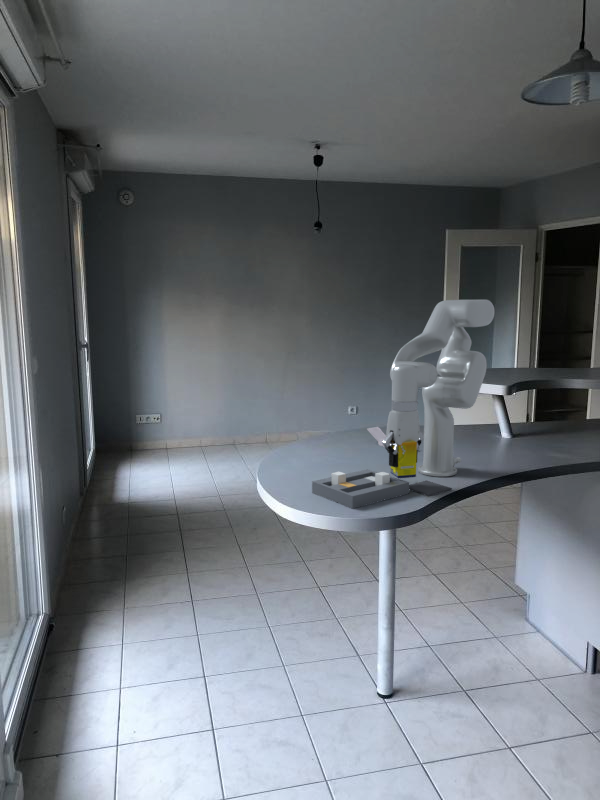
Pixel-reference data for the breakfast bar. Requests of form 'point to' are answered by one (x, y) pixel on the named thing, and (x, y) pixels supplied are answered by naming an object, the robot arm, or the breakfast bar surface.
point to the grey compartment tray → (359, 489)
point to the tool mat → (428, 488)
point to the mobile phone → (377, 435)
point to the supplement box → (406, 460)
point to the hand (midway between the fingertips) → (403, 463)
